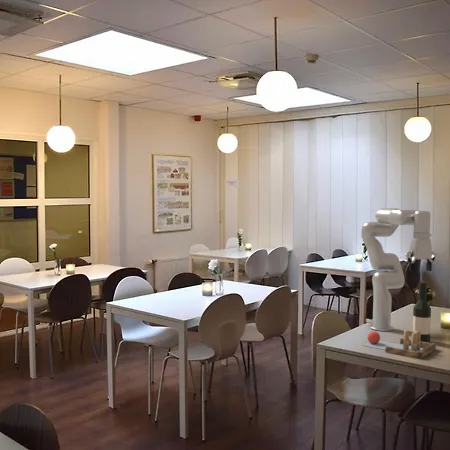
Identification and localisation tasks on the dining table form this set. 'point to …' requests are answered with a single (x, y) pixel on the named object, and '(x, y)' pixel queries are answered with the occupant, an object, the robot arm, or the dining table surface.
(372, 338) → the ball
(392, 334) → the dining table surface
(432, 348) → the wooden tray
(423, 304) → the wine bottle
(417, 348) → the pin
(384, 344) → the lane strip
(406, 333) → the front pin
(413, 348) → the pin
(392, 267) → the robot arm
